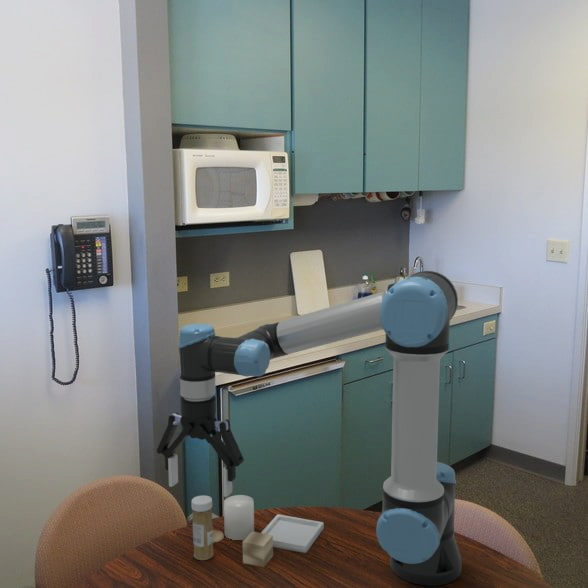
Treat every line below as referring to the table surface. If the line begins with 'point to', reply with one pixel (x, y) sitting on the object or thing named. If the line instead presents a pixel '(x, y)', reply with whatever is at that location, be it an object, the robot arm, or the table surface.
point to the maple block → (258, 549)
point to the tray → (293, 532)
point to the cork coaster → (217, 536)
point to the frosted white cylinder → (238, 517)
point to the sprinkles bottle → (202, 527)
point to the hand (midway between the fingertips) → (200, 489)
